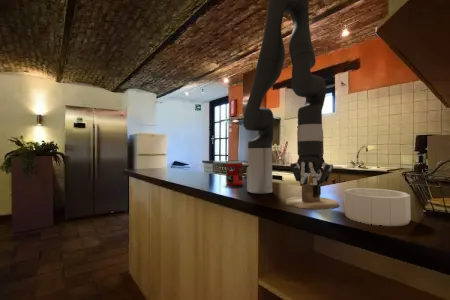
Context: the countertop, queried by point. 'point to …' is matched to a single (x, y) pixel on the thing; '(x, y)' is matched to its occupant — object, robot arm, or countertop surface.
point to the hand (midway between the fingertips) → (311, 196)
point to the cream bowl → (377, 206)
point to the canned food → (234, 173)
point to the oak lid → (311, 200)
